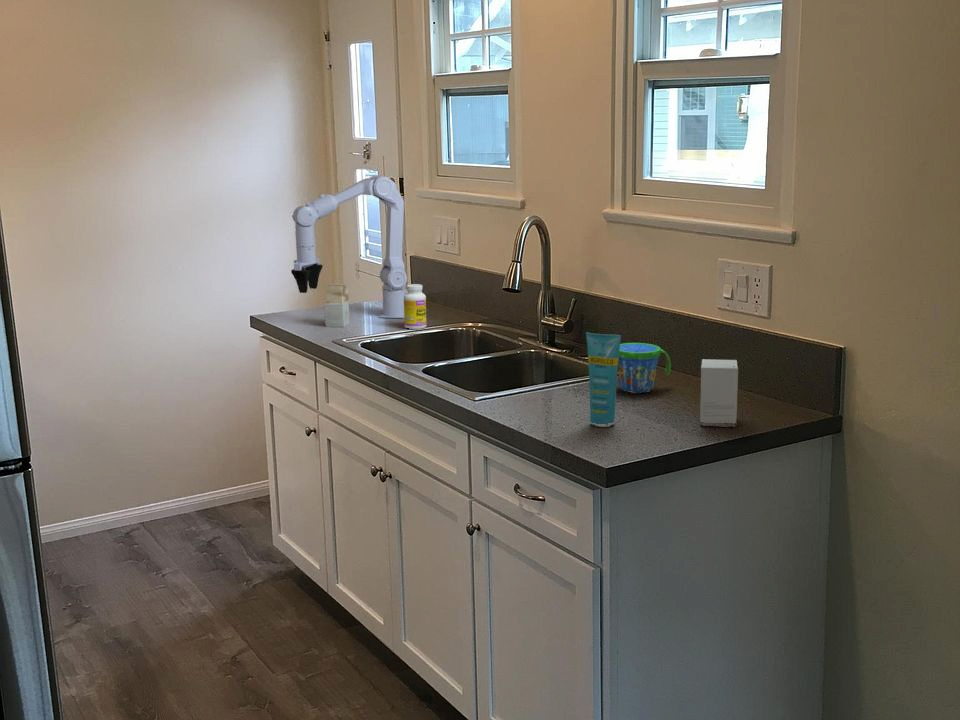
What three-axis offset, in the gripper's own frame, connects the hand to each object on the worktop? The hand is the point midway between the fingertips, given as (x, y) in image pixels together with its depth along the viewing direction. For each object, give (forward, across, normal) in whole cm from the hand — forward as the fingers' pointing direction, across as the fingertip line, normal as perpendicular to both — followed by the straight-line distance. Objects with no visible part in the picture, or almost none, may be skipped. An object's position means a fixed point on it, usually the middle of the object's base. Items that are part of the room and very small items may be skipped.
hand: (308, 290), depth 320 cm
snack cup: (+11, +59, +106) cm, 122 cm away
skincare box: (+11, 0, +9) cm, 14 cm away
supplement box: (+11, +81, +125) cm, 149 cm away
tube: (+11, +87, +102) cm, 134 cm away
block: (+3, 0, +9) cm, 10 cm away
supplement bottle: (+11, 0, +34) cm, 36 cm away
